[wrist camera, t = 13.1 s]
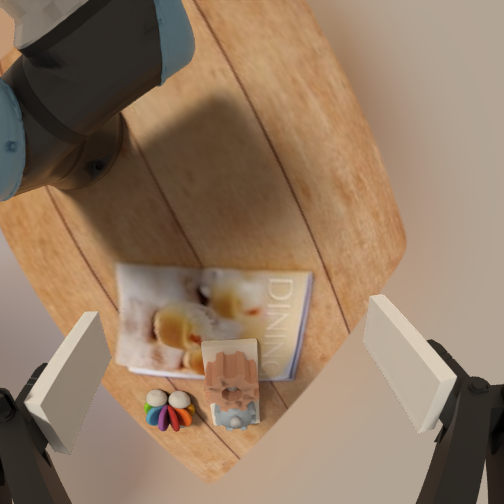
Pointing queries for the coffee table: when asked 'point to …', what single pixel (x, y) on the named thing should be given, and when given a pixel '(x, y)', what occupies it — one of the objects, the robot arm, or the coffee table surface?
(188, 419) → the white-domed colorful disc toy
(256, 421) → the gear board
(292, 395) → the coffee table surface
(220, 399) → the gear
